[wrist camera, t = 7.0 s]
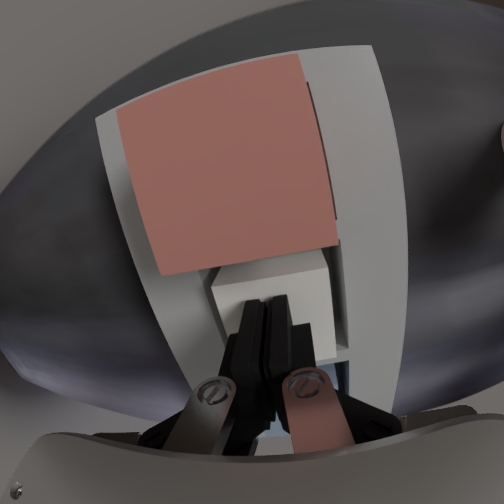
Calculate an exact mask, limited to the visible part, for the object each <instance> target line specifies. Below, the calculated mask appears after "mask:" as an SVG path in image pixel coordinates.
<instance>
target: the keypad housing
mask: <svg viewBox="0 0 504 504" xmlns="http://www.w3.org/2000/svg"><path fill="white" fill-rule="evenodd" d="M296 53H298V56H299V60H300V63H301V66H302V69H303V73H304V76H305V80H306V83H307V87H308V90H309V94H310V98H311V102H312V106H313V110H314V114H315V118H316V122H317V126H318V130H319V135H320V139H321V144H322V148H323V153H324V158H325V163H326V168H327V173H328V179H329V184H330V190H331V195H332V201H333V208H334V214H335V221H336V228H337V235H338V242H339V245H335V246H329V247H324V248H321V250H322V253H323V256H324V258H325V261H326V263H327V266H328V271H329V279H330V288H331V297H332V306H333V316H334V328H335V340H336V355H337V357H335V358H330V359H324V360H318V361H316V366H320V365H326V364H331V363H334V366H335V371H336V377H337V382H338V391H341V392H343V393H345V394H347V395H349V396H351V397H354V398H356V399H358V400H360V401H362V402H365V403H367V404H369V405H372V406H374V407H376V408H379V409H381V410H383V411H386V412H388V413H391V411H392V406H393V402H394V397H395V392H396V387H397V382H398V376H399V370H400V364H401V357H402V349H403V341H404V332H405V321H406V308H407V288H408V239H407V219H406V206H405V195H404V185H403V177H402V170H401V163H400V156H399V150H398V144H397V139H396V134H395V129H394V124H393V119H392V115H391V111H390V106H389V102H388V98H387V95H386V91H385V87H384V84H383V80H382V77H381V73H380V70H379V67H378V64H377V61H376V58H375V55H374V52H373V49H372V46H371V45H362V46H338V47H325V48H314V49H306V50H298V51H291V52H285V53H279V54H273V55H268V56H263V57H258V58H253V59H249V60H245V61H240V62H236V63H232V64H229V65H225V66H221V67H218V68H214V69H211V70H208V71H204V72H201V73H198V74H195V75H192V76H189V77H186V78H183V79H181V80H178V81H175V82H173V83H170V84H167V85H165V86H162V87H160V88H157V89H155V90H152V91H150V92H148V93H145V94H143V95H141V96H139V97H136V98H134V99H132V100H130V101H128V102H126V103H124V104H122V105H120V106H118V107H116V108H114V109H112V110H110V111H108V112H106V113H104V114H102V115H100V116H98V117H97V118H95V120H96V125H97V131H98V136H99V141H100V146H101V150H102V155H103V159H104V164H105V168H106V172H107V176H108V180H109V184H110V188H111V191H112V195H113V199H114V202H115V206H116V209H117V212H118V216H119V219H120V222H121V225H122V228H123V232H124V235H125V238H126V241H127V244H128V247H129V249H130V252H131V255H132V258H133V261H134V263H135V266H136V269H137V272H138V274H139V277H140V279H141V282H142V285H143V287H144V290H145V292H146V295H147V297H148V299H149V302H150V304H151V307H152V309H153V311H154V314H155V316H156V318H157V320H158V323H159V325H160V327H161V329H162V331H163V334H164V336H165V338H166V340H167V342H168V344H169V346H170V348H171V350H172V352H173V355H174V357H175V359H176V361H177V363H178V364H179V366H180V368H181V370H182V372H183V374H184V376H185V378H186V380H187V382H188V383H189V385H190V387H191V389H192V391H194V389H195V388H196V387H197V385H198V384H200V383H201V382H202V381H204V380H206V379H208V378H211V377H217V376H218V373H219V370H220V366H221V362H222V359H223V355H224V352H225V348H226V344H227V341H228V337H227V334H226V331H225V328H224V325H223V322H222V319H221V316H220V313H219V310H218V307H217V304H216V301H215V298H214V295H213V292H212V289H211V286H212V284H213V282H214V280H215V278H216V276H217V274H218V272H219V270H220V268H221V266H218V267H212V268H206V269H201V270H195V271H189V272H183V273H177V274H172V275H166V276H161V274H160V271H159V268H158V265H157V263H156V260H155V257H154V254H153V251H152V248H151V245H150V242H149V239H148V236H147V233H146V229H145V226H144V223H143V220H142V216H141V213H140V210H139V206H138V203H137V199H136V196H135V192H134V188H133V185H132V181H131V177H130V173H129V169H128V165H127V161H126V157H125V153H124V148H123V144H122V139H121V135H120V130H119V125H118V120H117V115H116V110H117V109H119V108H121V107H123V106H125V105H127V104H129V103H131V102H133V101H136V100H138V99H140V98H142V97H145V96H147V95H149V94H152V93H154V92H156V91H159V90H161V89H164V88H167V87H169V86H172V85H174V84H177V83H180V82H183V81H186V80H188V79H191V78H194V77H197V76H200V75H204V74H207V73H210V72H213V71H217V70H220V69H224V68H228V67H231V66H235V65H239V64H243V63H248V62H252V61H257V60H261V59H266V58H272V57H277V56H283V55H289V54H296ZM286 436H291V435H286ZM264 437H266V435H265V433H264V432H263V433H261V434H260V435H259V436H258V438H264ZM272 437H279V436H272Z"/></svg>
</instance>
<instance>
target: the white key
mask: <svg viewBox="0 0 504 504" xmlns="http://www.w3.org/2000/svg"><path fill="white" fill-rule="evenodd" d="M211 289H212V292H213V295H214V298H215V301H216V304H217V307H218V310H219V313H220V316H221V319H222V322H223V325H224V328H225V331H226V334H227V337H229V335H230V334H233V333H238V331H239V326H240V322H241V318H242V313H243V309H244V305H245V301H247V300H254V299H260V301H261V302H264V301H265V303H266V306H267V311H268V301H270V300H273V296H279V295H285V294H287V296H288V302H289V307H290V312H291V317H292V322H293V325H298V324H304V323H310V325H311V332H312V339H313V346H314V353H315V361H318V360H324V359H330V358H335V357H337V355H336V340H335V328H334V316H333V306H332V297H331V288H330V279H329V271H328V266H327V263H326V261H325V258H324V256H323V253H322V250H321V248H318V249H313V250H307V251H302V252H296V253H291V254H285V255H280V256H274V257H269V258H263V259H258V260H252V261H246V262H241V263H235V264H229V265H224V266H221V268H220V270H219V272H218V274H217V276H216V278H215V280H214V282H213V284H212V286H211Z"/></svg>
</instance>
